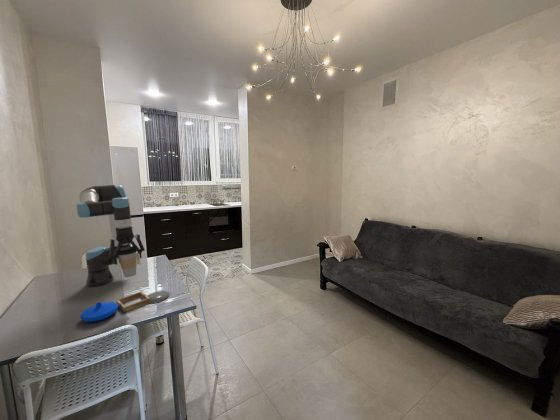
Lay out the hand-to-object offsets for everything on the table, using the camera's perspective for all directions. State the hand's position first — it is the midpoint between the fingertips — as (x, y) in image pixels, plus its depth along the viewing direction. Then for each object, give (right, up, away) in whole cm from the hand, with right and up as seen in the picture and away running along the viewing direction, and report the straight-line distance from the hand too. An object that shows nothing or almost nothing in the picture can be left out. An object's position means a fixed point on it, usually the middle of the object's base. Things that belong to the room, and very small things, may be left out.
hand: (129, 266), depth 135 cm
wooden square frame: (+1, -21, +3) cm, 21 cm away
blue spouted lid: (-9, -23, -8) cm, 27 cm away
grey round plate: (+11, -20, +9) cm, 24 cm away
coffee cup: (0, -5, +1) cm, 5 cm away
